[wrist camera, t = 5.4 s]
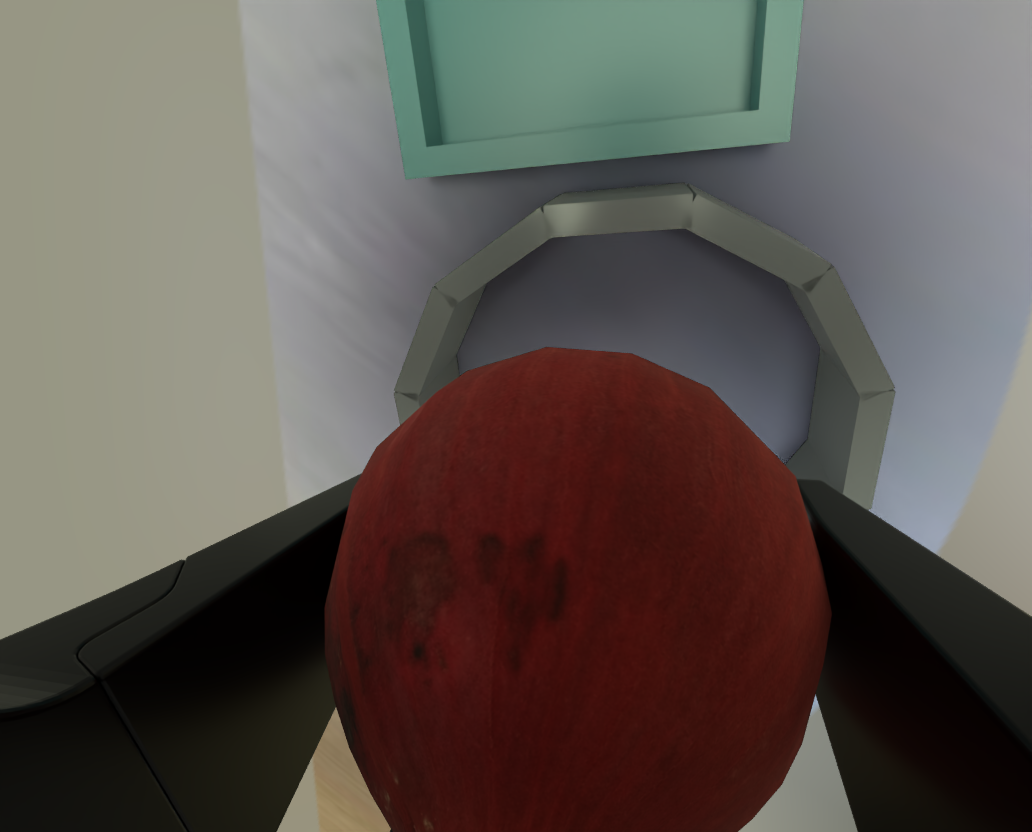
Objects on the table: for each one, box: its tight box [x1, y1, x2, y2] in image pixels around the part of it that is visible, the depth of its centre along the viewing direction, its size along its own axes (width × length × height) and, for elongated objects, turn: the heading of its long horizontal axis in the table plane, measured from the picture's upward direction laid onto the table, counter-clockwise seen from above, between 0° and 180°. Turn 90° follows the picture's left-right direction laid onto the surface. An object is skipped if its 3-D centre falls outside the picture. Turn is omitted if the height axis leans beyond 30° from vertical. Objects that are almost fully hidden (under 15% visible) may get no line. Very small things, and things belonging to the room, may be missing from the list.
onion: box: [325, 347, 832, 832], centre depth 7 cm, size 6×6×8 cm
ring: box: [394, 183, 895, 511], centre depth 19 cm, size 14×14×4 cm
